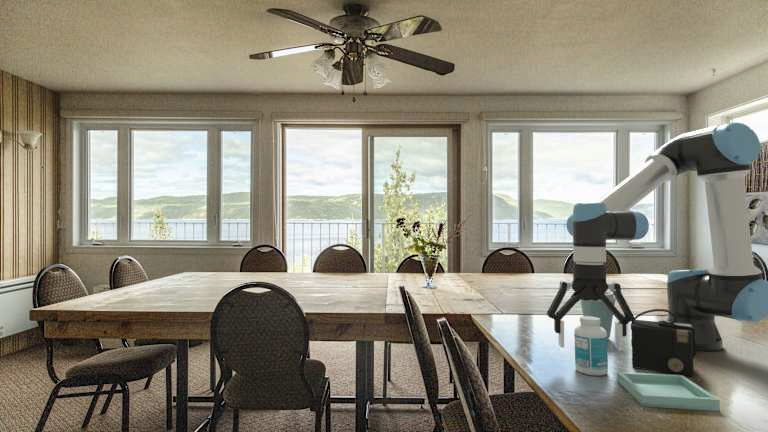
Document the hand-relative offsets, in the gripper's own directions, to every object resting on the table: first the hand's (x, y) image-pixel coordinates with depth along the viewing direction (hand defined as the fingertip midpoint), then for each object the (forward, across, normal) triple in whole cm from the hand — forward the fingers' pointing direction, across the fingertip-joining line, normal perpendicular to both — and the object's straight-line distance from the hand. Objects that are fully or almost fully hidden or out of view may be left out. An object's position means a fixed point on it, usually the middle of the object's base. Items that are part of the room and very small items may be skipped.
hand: (589, 347), depth 106 cm
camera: (+6, -19, -6) cm, 21 cm away
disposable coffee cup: (+6, -12, -34) cm, 37 cm away
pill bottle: (+6, 0, 0) cm, 6 cm away
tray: (+6, -11, +13) cm, 18 cm away
